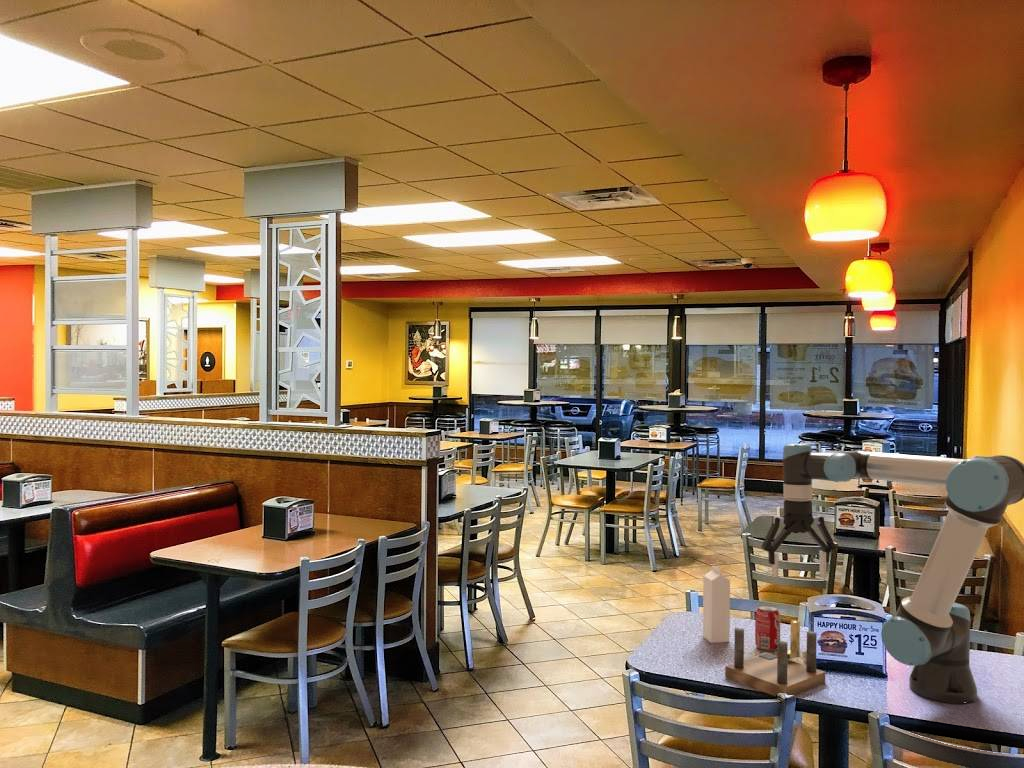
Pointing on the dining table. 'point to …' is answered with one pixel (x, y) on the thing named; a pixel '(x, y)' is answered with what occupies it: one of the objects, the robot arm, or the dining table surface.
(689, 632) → the dining table surface
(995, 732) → the dining table surface
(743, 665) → the stool seat
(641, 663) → the dining table surface
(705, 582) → the milk
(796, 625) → the hinged leg
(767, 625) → the soda can
